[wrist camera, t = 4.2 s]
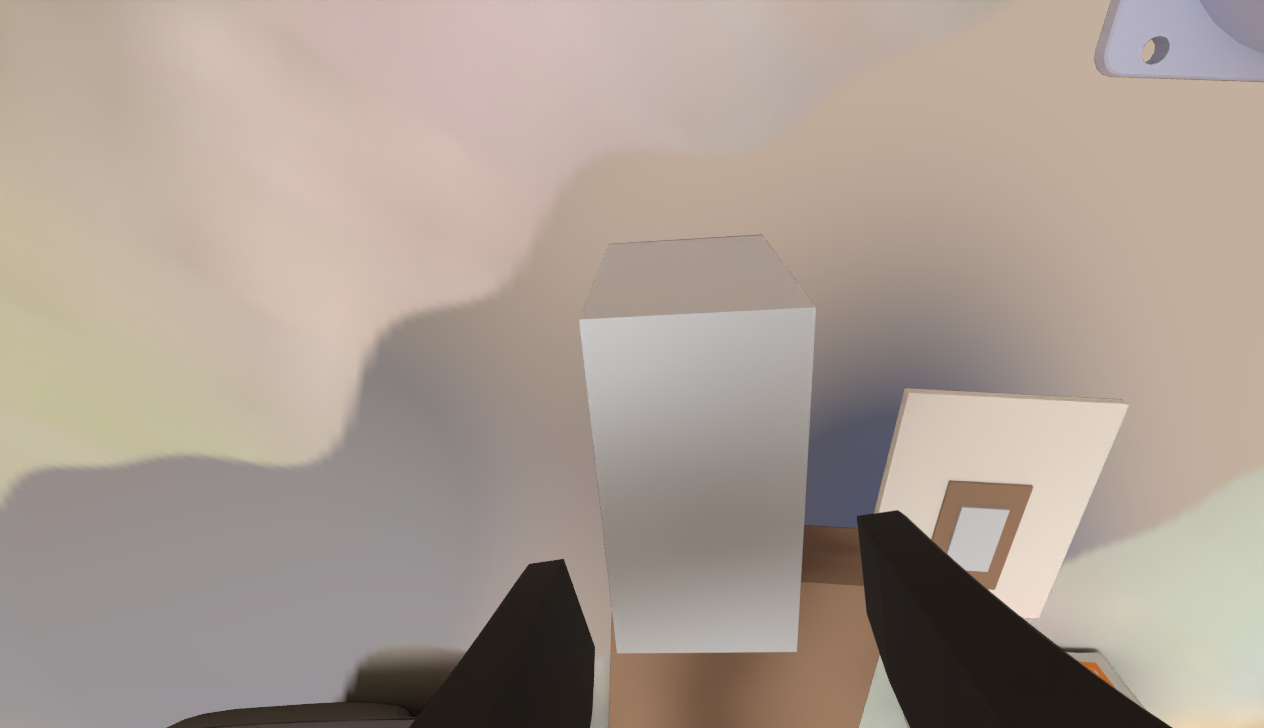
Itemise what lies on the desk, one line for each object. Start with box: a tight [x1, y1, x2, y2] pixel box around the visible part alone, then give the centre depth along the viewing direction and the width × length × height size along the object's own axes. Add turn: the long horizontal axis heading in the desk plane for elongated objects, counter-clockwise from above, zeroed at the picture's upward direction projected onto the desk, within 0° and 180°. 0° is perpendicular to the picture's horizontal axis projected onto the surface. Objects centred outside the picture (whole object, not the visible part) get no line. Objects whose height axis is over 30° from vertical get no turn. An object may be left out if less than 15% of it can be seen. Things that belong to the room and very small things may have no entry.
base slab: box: [609, 525, 880, 728], centre depth 21 cm, size 8×14×2 cm, turn 178°
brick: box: [579, 234, 816, 653], centre depth 14 cm, size 4×8×6 cm, turn 4°
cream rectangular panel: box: [874, 388, 1129, 618], centre depth 18 cm, size 6×8×1 cm
